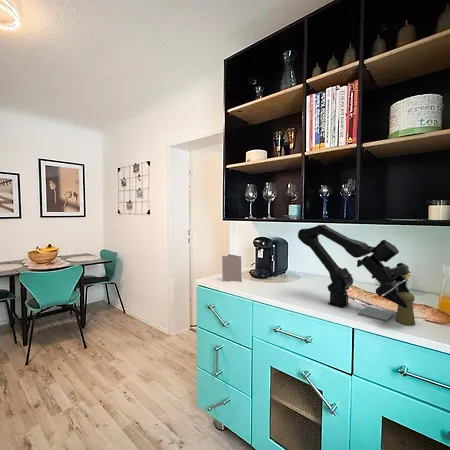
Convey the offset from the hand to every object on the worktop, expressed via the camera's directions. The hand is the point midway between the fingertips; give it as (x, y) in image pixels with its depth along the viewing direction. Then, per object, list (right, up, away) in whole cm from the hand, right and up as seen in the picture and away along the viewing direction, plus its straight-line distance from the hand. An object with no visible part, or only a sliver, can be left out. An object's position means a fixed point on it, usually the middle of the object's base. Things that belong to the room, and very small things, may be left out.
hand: (410, 304), depth 96 cm
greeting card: (-63, -5, +61) cm, 88 cm away
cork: (-1, -7, +1) cm, 7 cm away
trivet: (-7, -7, +8) cm, 13 cm away
